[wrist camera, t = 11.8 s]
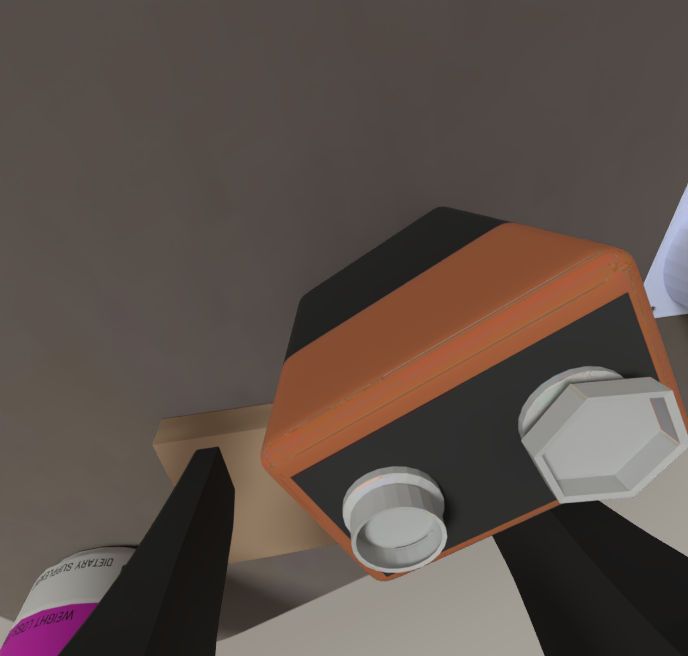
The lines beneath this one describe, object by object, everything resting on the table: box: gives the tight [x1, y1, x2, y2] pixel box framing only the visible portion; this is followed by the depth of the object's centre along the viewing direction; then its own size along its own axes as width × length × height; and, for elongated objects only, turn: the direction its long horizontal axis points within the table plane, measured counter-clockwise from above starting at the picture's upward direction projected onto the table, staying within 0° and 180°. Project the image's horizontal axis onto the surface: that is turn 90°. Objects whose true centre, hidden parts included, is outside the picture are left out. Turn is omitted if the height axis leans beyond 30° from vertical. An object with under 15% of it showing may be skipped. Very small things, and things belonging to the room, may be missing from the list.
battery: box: [261, 207, 688, 581], centre depth 10 cm, size 4×7×10 cm, turn 123°
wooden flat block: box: [152, 403, 338, 564], centre depth 20 cm, size 16×11×2 cm
